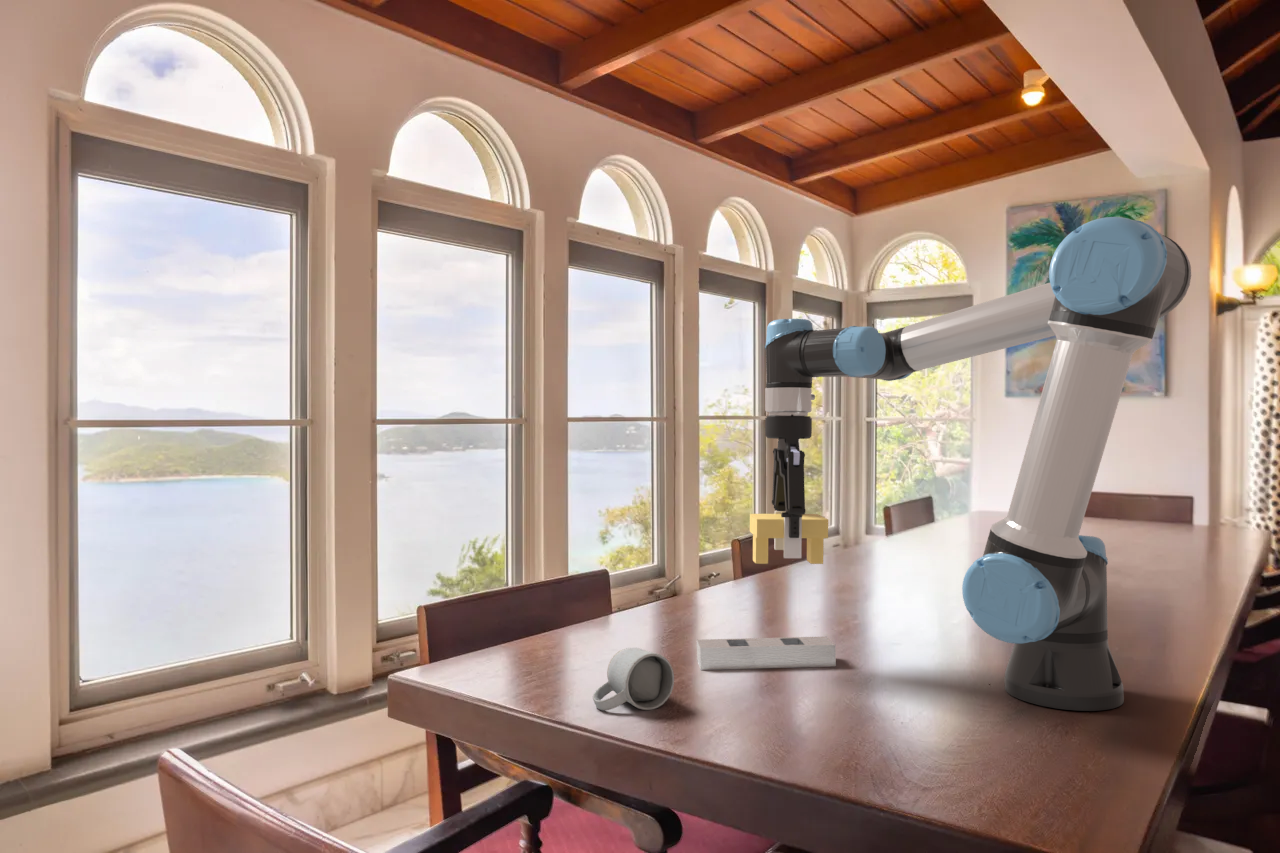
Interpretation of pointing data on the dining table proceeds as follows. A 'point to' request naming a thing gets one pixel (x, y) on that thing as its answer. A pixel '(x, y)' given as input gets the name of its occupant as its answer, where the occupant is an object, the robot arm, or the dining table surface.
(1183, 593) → the dining table surface
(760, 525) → the yellow bridge
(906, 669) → the dining table surface
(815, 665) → the rail
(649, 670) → the ceramic mug
